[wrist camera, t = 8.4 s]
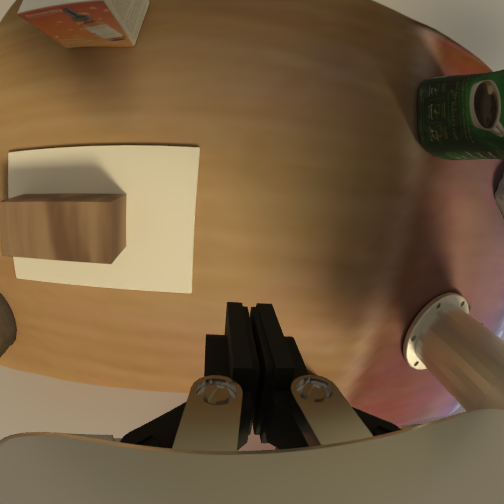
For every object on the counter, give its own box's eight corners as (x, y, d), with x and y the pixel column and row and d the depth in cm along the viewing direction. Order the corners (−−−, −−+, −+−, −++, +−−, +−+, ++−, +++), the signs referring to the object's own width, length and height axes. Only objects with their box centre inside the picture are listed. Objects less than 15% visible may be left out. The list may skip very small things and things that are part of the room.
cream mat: (200, 147, 26) (199, 147, 25) (191, 291, 30) (191, 293, 30) (10, 152, 22) (8, 152, 22) (18, 276, 27) (16, 278, 26)
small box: (65, 49, 20) (13, 15, 10) (82, 5, 19) (41, -40, 9) (135, 48, 22) (102, 1, 12) (151, 2, 20) (130, -55, 10)
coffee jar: (457, 163, 30) (582, 189, 12) (411, 152, 29) (556, 171, 11) (458, 91, 27) (578, 85, 9) (413, 72, 26) (545, 44, 8)
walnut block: (109, 202, 21) (-3, 202, 19) (111, 264, 22) (2, 255, 21) (126, 194, 26) (24, 193, 24) (126, 246, 27) (27, 240, 25)
